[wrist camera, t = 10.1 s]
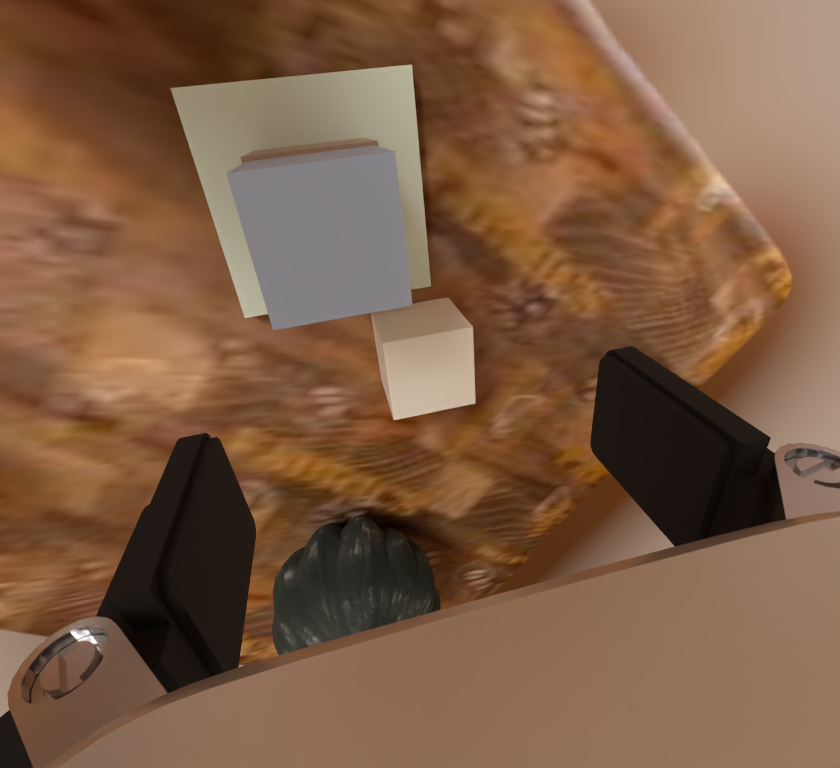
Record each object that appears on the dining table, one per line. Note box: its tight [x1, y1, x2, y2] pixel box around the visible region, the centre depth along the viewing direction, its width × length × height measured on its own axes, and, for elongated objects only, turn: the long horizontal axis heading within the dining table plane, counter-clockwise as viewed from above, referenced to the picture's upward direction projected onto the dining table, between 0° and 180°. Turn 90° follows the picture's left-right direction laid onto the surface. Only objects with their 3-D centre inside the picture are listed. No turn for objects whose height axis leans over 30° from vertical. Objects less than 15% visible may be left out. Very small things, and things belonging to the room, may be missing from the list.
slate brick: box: [226, 145, 413, 330], centre depth 20 cm, size 6×6×6 cm
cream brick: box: [371, 297, 475, 420], centre depth 33 cm, size 6×6×6 cm
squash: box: [272, 515, 440, 655], centre depth 40 cm, size 14×15×15 cm
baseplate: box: [170, 65, 431, 318], centre depth 26 cm, size 13×13×7 cm
